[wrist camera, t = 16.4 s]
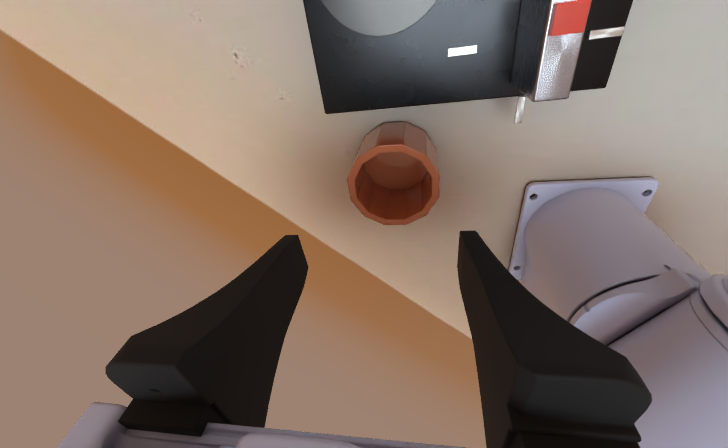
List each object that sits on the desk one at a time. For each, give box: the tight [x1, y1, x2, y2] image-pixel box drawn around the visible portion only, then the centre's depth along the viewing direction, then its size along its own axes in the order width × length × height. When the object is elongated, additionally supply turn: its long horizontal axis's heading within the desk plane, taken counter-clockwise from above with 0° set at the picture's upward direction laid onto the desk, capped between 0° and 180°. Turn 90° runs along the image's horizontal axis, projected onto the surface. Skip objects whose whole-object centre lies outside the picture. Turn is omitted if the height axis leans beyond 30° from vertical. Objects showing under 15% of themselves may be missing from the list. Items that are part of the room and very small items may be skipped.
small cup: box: [347, 122, 440, 225], centre depth 20 cm, size 6×6×4 cm
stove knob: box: [511, 0, 592, 102], centre depth 13 cm, size 4×1×4 cm, turn 8°
